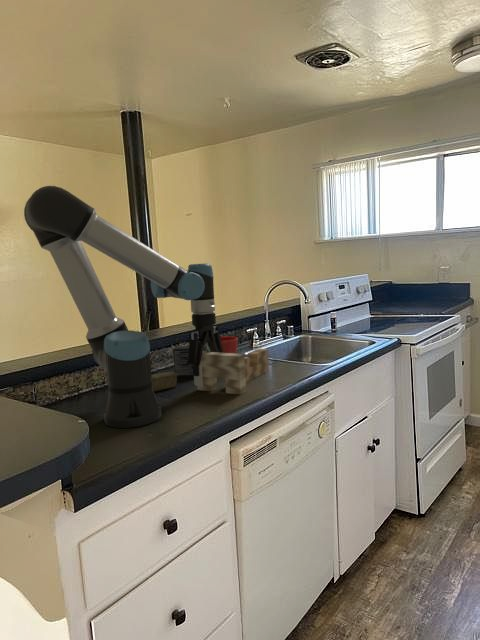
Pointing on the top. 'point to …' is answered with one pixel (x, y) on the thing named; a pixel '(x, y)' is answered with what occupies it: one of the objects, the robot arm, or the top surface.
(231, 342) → the flower pot
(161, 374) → the stone block
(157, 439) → the top surface
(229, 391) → the beige wooden slab
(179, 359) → the small box
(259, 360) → the oak board
